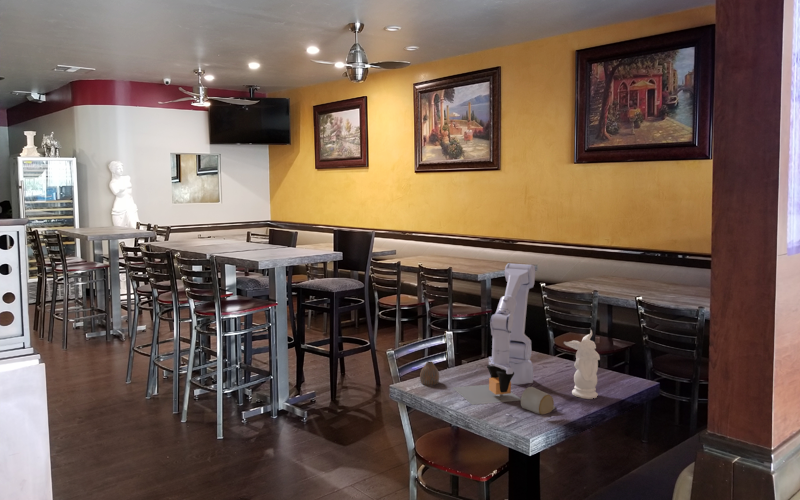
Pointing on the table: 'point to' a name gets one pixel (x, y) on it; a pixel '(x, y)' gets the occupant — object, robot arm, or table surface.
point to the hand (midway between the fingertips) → (499, 389)
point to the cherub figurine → (585, 367)
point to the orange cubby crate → (497, 386)
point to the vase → (429, 374)
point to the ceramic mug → (537, 401)
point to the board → (483, 395)
